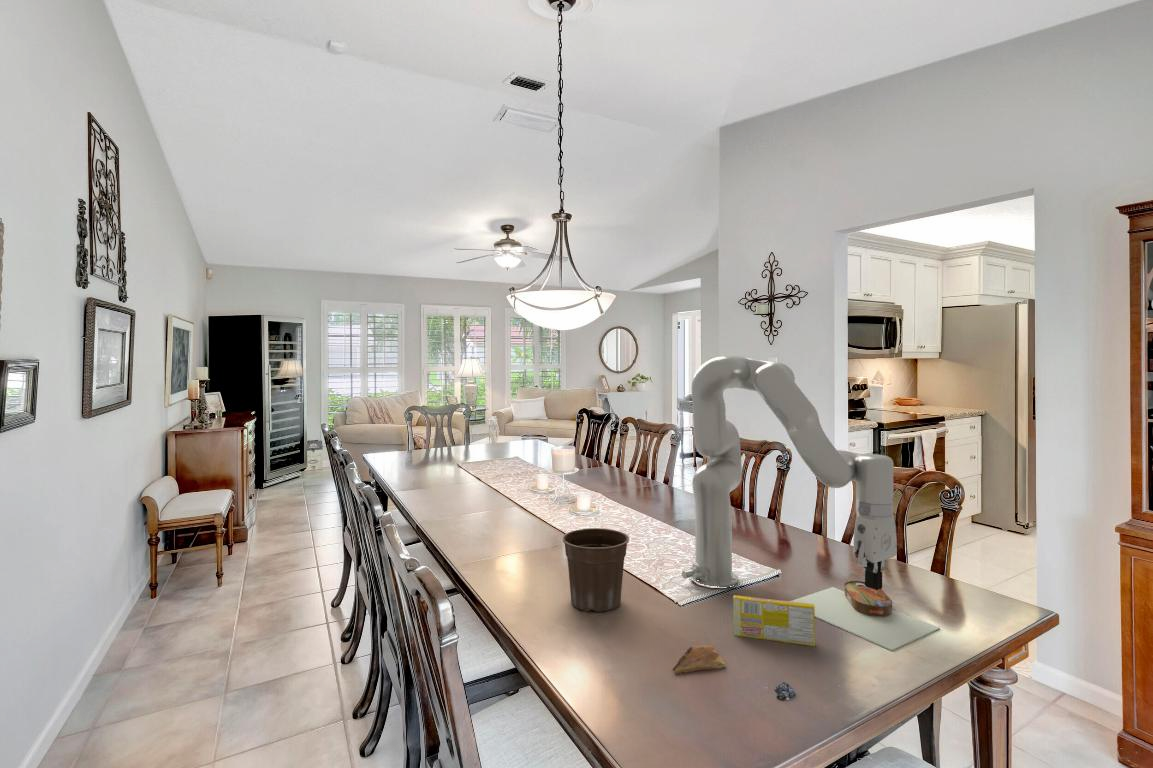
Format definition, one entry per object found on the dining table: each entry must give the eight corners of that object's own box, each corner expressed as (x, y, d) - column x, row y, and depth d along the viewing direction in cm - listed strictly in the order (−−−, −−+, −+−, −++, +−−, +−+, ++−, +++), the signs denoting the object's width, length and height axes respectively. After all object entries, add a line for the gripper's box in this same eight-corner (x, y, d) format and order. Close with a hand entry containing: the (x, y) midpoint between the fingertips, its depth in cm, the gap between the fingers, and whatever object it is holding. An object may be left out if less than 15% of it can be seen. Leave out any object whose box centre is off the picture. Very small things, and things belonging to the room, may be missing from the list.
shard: (672, 677, 106) (672, 668, 106) (659, 656, 113) (659, 647, 113) (726, 671, 108) (726, 661, 108) (709, 650, 115) (709, 642, 115)
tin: (898, 607, 127) (857, 602, 128) (896, 621, 127) (856, 615, 128) (876, 582, 141) (840, 577, 143) (875, 594, 141) (839, 589, 143)
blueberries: (760, 704, 98) (760, 694, 97) (762, 676, 105) (762, 667, 105) (802, 713, 95) (802, 703, 95) (801, 684, 103) (801, 674, 103)
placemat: (891, 651, 113) (891, 649, 113) (785, 604, 136) (785, 602, 136) (940, 628, 122) (940, 627, 122) (832, 588, 145) (832, 587, 145)
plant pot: (595, 583, 150) (594, 523, 149) (643, 601, 138) (642, 536, 138) (549, 602, 138) (548, 537, 138) (597, 623, 127) (596, 552, 126)
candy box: (814, 642, 117) (814, 603, 117) (815, 647, 115) (815, 607, 115) (733, 631, 123) (733, 593, 122) (733, 635, 121) (733, 597, 120)
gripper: (870, 517, 122) (869, 600, 123) (909, 507, 130) (908, 586, 131) (839, 509, 129) (838, 588, 130) (877, 501, 136) (877, 575, 137)
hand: (873, 587), depth 130 cm, fingers closed
